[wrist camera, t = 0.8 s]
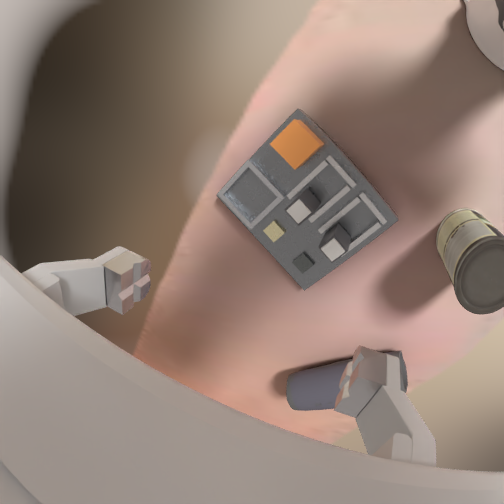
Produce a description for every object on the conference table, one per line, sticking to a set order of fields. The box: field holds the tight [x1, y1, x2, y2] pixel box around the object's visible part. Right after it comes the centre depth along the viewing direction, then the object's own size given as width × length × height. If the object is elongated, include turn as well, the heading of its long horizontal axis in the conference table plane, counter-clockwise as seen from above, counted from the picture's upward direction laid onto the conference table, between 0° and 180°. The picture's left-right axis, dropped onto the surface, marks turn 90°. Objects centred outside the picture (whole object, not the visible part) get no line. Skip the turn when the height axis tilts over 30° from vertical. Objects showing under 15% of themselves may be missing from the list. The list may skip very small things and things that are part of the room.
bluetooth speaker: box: [286, 351, 408, 411], centre depth 52 cm, size 23×9×10 cm, turn 120°
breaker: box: [318, 223, 351, 263], centre depth 43 cm, size 3×3×6 cm
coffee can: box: [436, 208, 504, 314], centre depth 33 cm, size 10×10×14 cm
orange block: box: [270, 119, 324, 170], centre depth 40 cm, size 5×5×4 cm
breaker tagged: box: [284, 188, 321, 226], centre depth 42 cm, size 3×3×6 cm
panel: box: [217, 109, 398, 290], centre depth 46 cm, size 20×22×3 cm
